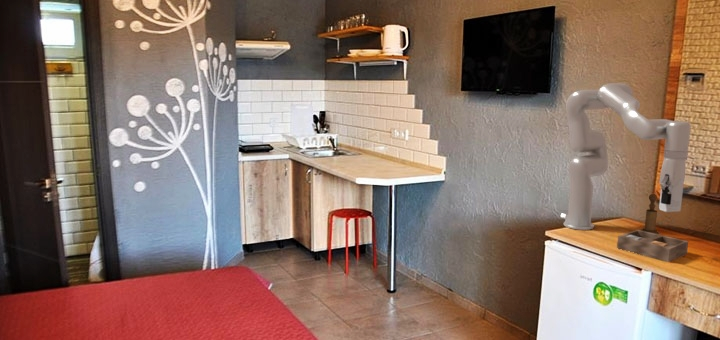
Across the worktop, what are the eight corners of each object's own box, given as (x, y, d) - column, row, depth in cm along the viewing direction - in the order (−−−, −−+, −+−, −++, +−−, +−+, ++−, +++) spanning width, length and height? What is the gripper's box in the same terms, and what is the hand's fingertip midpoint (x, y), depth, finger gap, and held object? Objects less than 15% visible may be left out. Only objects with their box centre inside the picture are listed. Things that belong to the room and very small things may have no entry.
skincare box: (672, 208, 203) (675, 177, 201) (681, 211, 199) (684, 179, 197) (657, 209, 202) (661, 177, 200) (666, 212, 198) (669, 180, 196)
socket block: (616, 248, 209) (618, 235, 208) (636, 241, 218) (637, 228, 217) (668, 262, 194) (669, 247, 193) (686, 254, 203) (688, 240, 202)
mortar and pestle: (660, 239, 221) (664, 196, 218) (643, 238, 222) (647, 195, 219) (654, 234, 227) (659, 192, 224) (638, 233, 229) (642, 192, 226)
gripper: (675, 151, 205) (671, 197, 208) (653, 156, 195) (648, 203, 198) (697, 154, 199) (692, 201, 202) (675, 158, 189) (670, 207, 192)
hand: (670, 202), depth 200 cm, fingers closed on skincare box, 7 cm apart
